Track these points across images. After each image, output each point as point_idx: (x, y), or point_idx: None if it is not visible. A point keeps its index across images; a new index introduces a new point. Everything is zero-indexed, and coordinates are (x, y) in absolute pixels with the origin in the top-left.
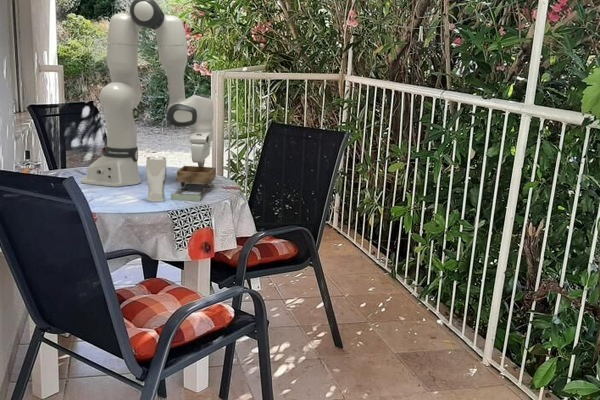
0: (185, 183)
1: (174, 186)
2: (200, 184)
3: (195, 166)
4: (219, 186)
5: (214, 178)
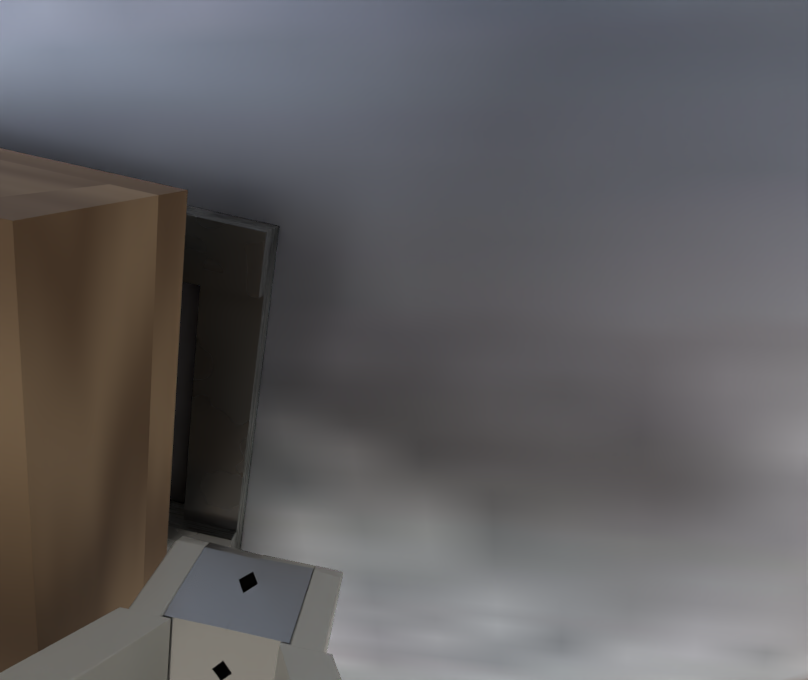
0: None
1: (47, 6)
2: (191, 423)
3: (9, 547)
4: None
5: None
